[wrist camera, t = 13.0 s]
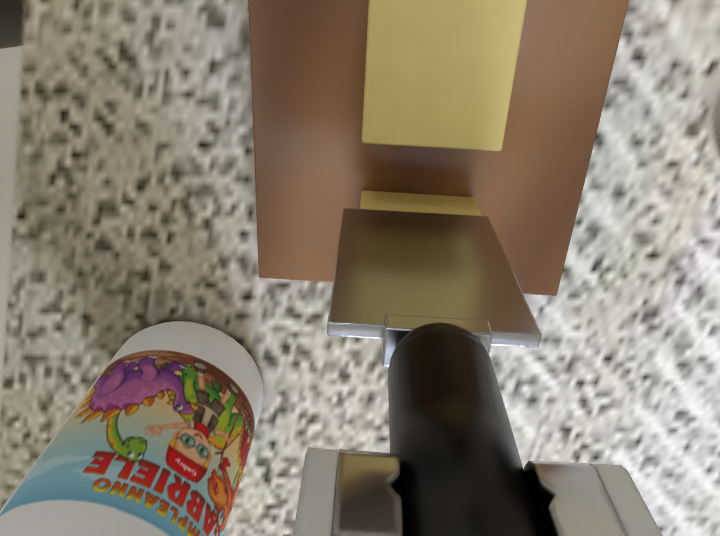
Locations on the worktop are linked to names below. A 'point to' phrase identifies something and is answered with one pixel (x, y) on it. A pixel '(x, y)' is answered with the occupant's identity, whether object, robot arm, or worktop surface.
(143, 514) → the milk bottle
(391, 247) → the knife
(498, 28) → the butter block
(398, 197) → the butter slice
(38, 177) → the worktop surface
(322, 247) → the board
